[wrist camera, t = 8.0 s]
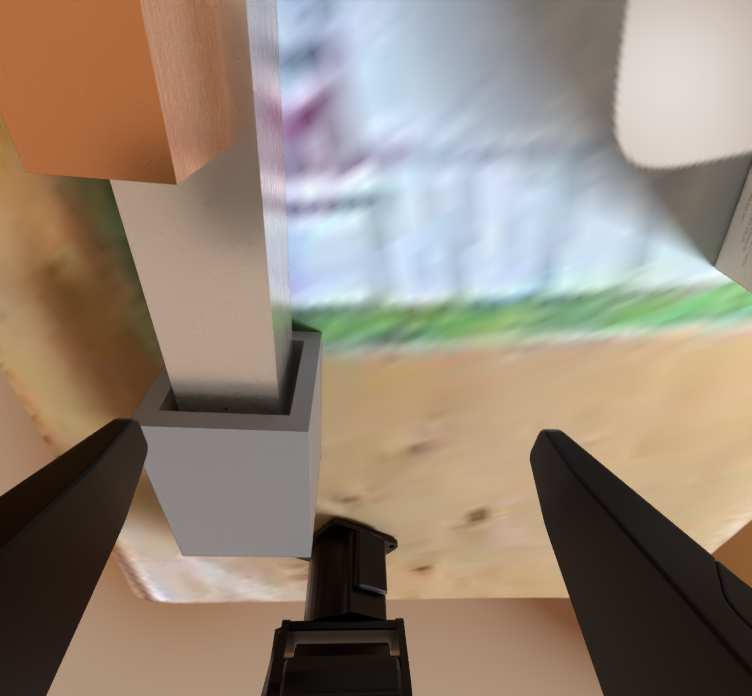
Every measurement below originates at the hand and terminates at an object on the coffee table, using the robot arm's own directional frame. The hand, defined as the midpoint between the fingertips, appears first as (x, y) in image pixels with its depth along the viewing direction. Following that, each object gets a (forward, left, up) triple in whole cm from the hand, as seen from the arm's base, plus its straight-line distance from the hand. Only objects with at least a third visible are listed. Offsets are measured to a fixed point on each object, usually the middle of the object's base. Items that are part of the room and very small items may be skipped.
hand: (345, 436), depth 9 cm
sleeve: (-11, -1, -11) cm, 15 cm away
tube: (-1, +5, -9) cm, 11 cm away
